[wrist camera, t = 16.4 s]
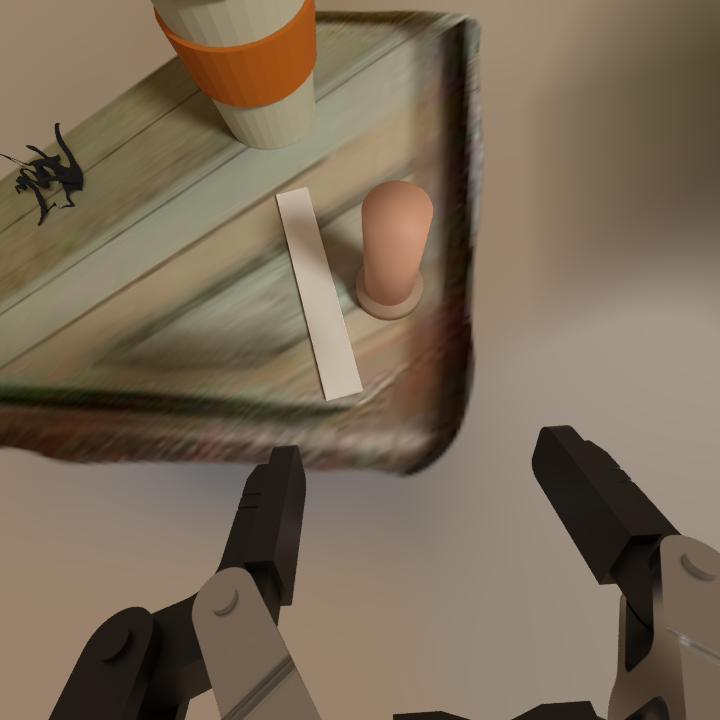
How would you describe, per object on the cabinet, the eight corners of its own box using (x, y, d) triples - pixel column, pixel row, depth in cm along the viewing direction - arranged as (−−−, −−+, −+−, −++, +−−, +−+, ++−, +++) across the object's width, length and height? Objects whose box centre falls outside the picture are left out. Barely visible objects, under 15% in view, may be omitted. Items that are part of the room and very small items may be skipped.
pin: (366, 327, 27) (362, 266, 17) (349, 270, 28) (336, 182, 19) (429, 310, 27) (461, 239, 18) (410, 253, 29) (429, 159, 19)
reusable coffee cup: (230, 182, 31) (106, -42, 17) (197, 91, 34) (66, -167, 20) (351, 138, 32) (332, -114, 17) (308, 53, 35) (261, -225, 20)
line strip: (327, 401, 26) (326, 400, 25) (277, 197, 31) (276, 194, 30) (363, 391, 26) (363, 390, 26) (307, 189, 31) (307, 186, 30)
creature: (32, 236, 32) (92, 222, 30) (-46, 199, 27) (21, 179, 25) (49, 170, 34) (108, 153, 32) (-20, 124, 29) (44, 100, 27)
